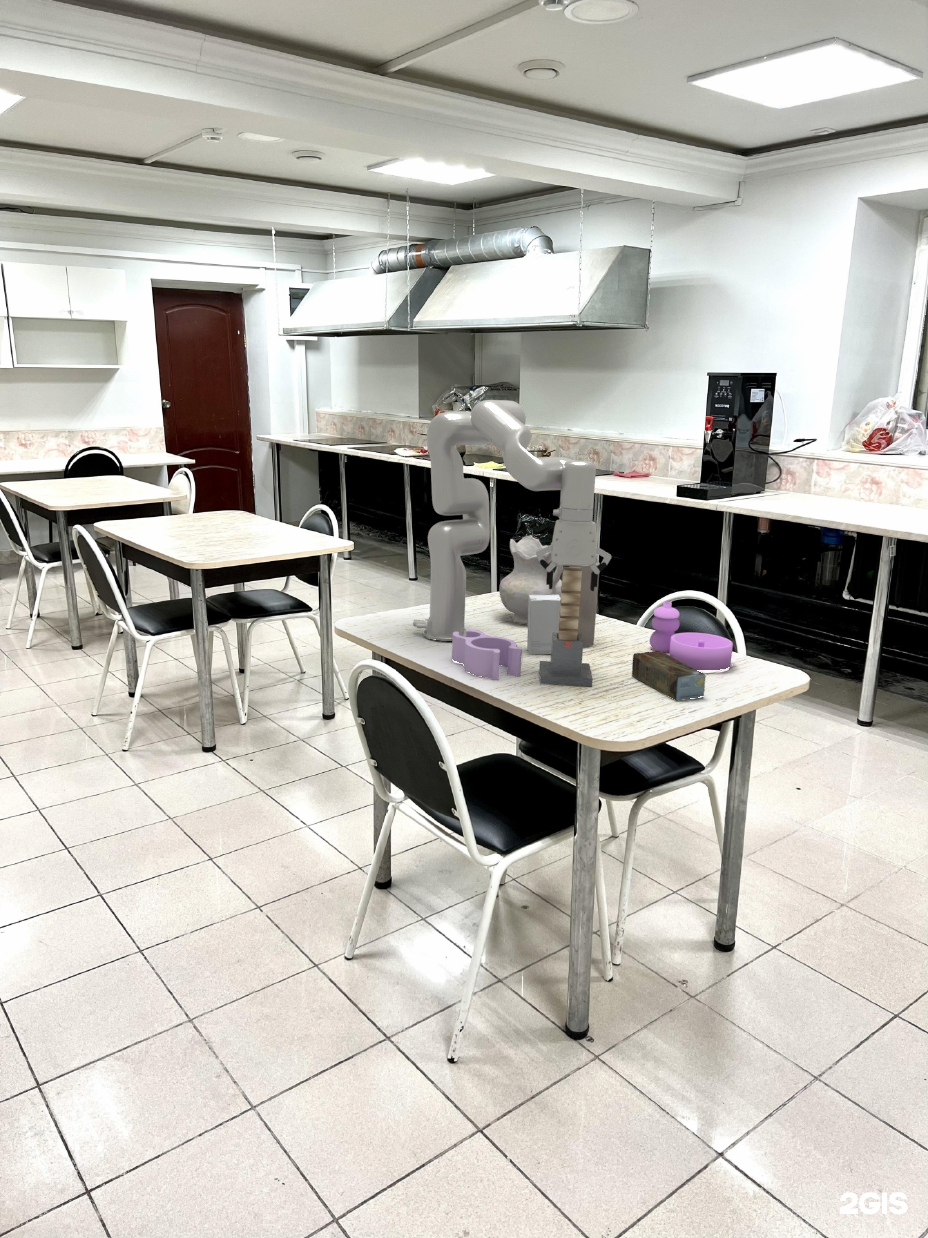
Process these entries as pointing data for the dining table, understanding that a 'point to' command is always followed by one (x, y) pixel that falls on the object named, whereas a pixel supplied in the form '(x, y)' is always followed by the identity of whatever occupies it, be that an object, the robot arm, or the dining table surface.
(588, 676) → the sleeve base
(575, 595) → the post
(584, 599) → the thermos bottle
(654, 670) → the beverage carton
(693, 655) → the container set
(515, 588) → the ceramic pitcher
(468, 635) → the clip
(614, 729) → the dining table surface
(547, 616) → the skincare box
